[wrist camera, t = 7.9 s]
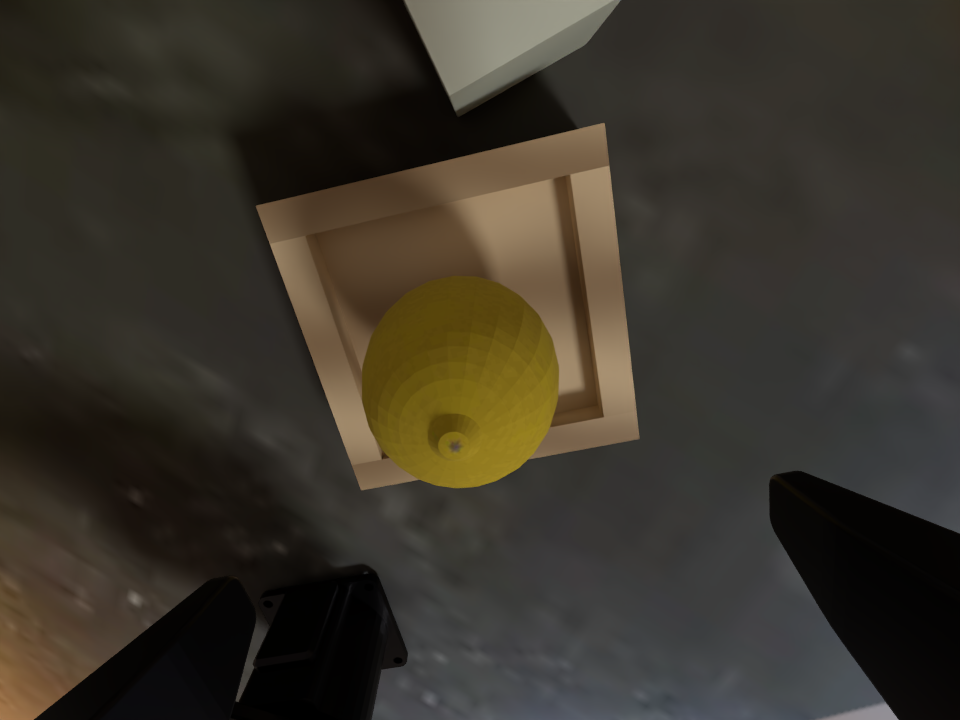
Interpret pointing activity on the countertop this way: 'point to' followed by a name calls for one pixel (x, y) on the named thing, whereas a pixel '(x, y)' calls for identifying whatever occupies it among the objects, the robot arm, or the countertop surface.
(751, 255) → the countertop surface
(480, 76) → the ceramic cube
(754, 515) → the countertop surface
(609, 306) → the square tray
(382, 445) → the lemon
